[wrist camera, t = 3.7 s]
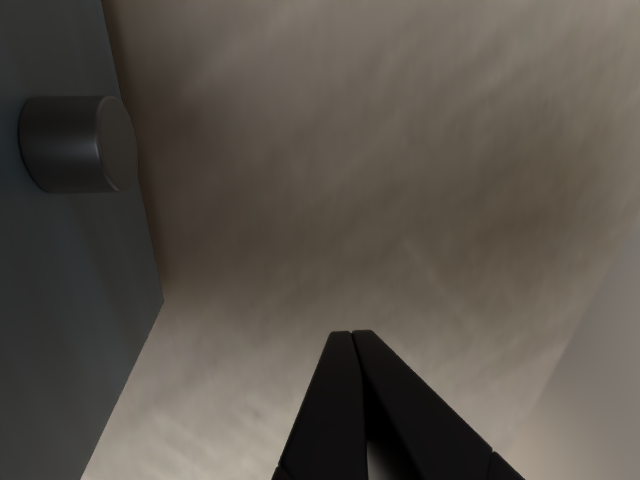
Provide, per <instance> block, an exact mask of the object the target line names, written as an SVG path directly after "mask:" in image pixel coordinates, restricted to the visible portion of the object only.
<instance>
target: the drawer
mask: <svg viewBox="0 0 640 480" xmlns="http://www.w3.org/2000/svg"><path fill="white" fill-rule="evenodd" d="M137 166H138V148H137V140H136V135H135V131H134V127H133V124H132V121H131V118H130V116H129V113H128V111H127V110H126V108H125V106H124V105H123V103H122V99H121V94H120V89H119V85H118V80H117V75H116V70H115V66H114V61H113V56H112V51H111V47H110V42H109V37H108V32H107V28H106V23H105V18H104V13H103V9H102V4H101V0H0V480H80V479H81V477H82V475H83V473H84V471H85V469H86V466H87V464H88V462H89V460H90V458H91V456H92V454H93V452H94V449H95V447H96V445H97V443H98V441H99V439H100V437H101V435H102V433H103V430H104V428H105V426H106V424H107V422H108V420H109V418H110V416H111V413H112V411H113V409H114V407H115V405H116V403H117V401H118V399H119V396H120V394H121V392H122V390H123V388H124V386H125V384H126V382H127V379H128V377H129V375H130V373H131V371H132V369H133V367H134V365H135V363H136V360H137V358H138V356H139V354H140V352H141V350H142V348H143V346H144V343H145V341H146V339H147V337H148V335H149V333H150V331H151V329H152V326H153V324H154V322H155V320H156V318H157V316H158V314H159V312H160V309H161V307H162V305H163V303H164V298H163V294H162V289H161V284H160V279H159V275H158V270H157V265H156V260H155V256H154V251H153V246H152V241H151V237H150V232H149V227H148V222H147V218H146V213H145V208H144V203H143V199H142V194H141V189H140V184H139V180H138V175H137Z"/></svg>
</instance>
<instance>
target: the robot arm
mask: <svg viewBox="0 0 640 480" xmlns="http://www.w3.org/2000/svg"><path fill="white" fill-rule="evenodd" d="M492 450H493V449H492V447H491V446H490V445H489V444H488V443H487V442H486V441H485V440H484V439H483V438H482V437H481V436H480V435H478V434H477V433H476V432H475V431H474V430H473V429H472V428H471V427H470V426H469V425H468V424H467V423H466V422H465V421H464V420H463V419H462V418H461V417H460V416H459V415H458V414H457V413H456V412H455V411H454V410H453V409H452V408H451V407H450V406H449V405H448V404H447V403H446V402H445V401H444V400H443V399H442V398H441V397H440V396H439V395H438V394H437V393H436V392H435V391H434V390H433V389H432V388H430V387H429V386H428V385H427V384H426V383H425V382H424V381H423V380H422V379H421V378H420V377H419V376H418V375H417V374H416V373H415V372H414V371H413V370H412V369H411V368H410V367H409V366H408V365H407V364H406V363H405V362H404V361H403V360H402V359H401V358H400V357H399V356H398V355H397V354H396V353H395V352H394V351H393V350H392V349H391V348H390V347H389V346H388V345H387V344H386V343H385V342H384V341H382V340H381V339H380V338H379V337H378V336H377V335H376V334H375V333H374V332H373V331H372V330H354V331H352V333H350V332H349V331H333V332H331V333H330V334H329V337H328V339H327V342H326V344H325V347H324V349H323V352H322V354H321V357H320V359H319V362H318V364H317V367H316V369H315V372H314V374H313V377H312V379H311V382H310V384H309V387H308V389H307V392H306V394H305V397H304V399H303V402H302V404H301V407H300V409H299V412H298V414H297V417H296V419H295V422H294V424H293V427H292V429H291V432H290V435H289V437H288V440H287V442H286V445H285V447H284V450H283V452H282V455H281V457H280V460H279V462H278V467H276V469H275V471H274V474H273V476H272V479H271V480H525V479H524V478H523V477H522V476H521V475H520V474H519V473H518V472H517V471H515V470H514V469H513V468H512V467H511V466H510V465H509V464H508V463H507V462H506V461H505V460H504V459H503V458H502V457H501V456H500V455H499V454H498V453H497V452H495V451H494V452H492Z"/></svg>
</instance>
